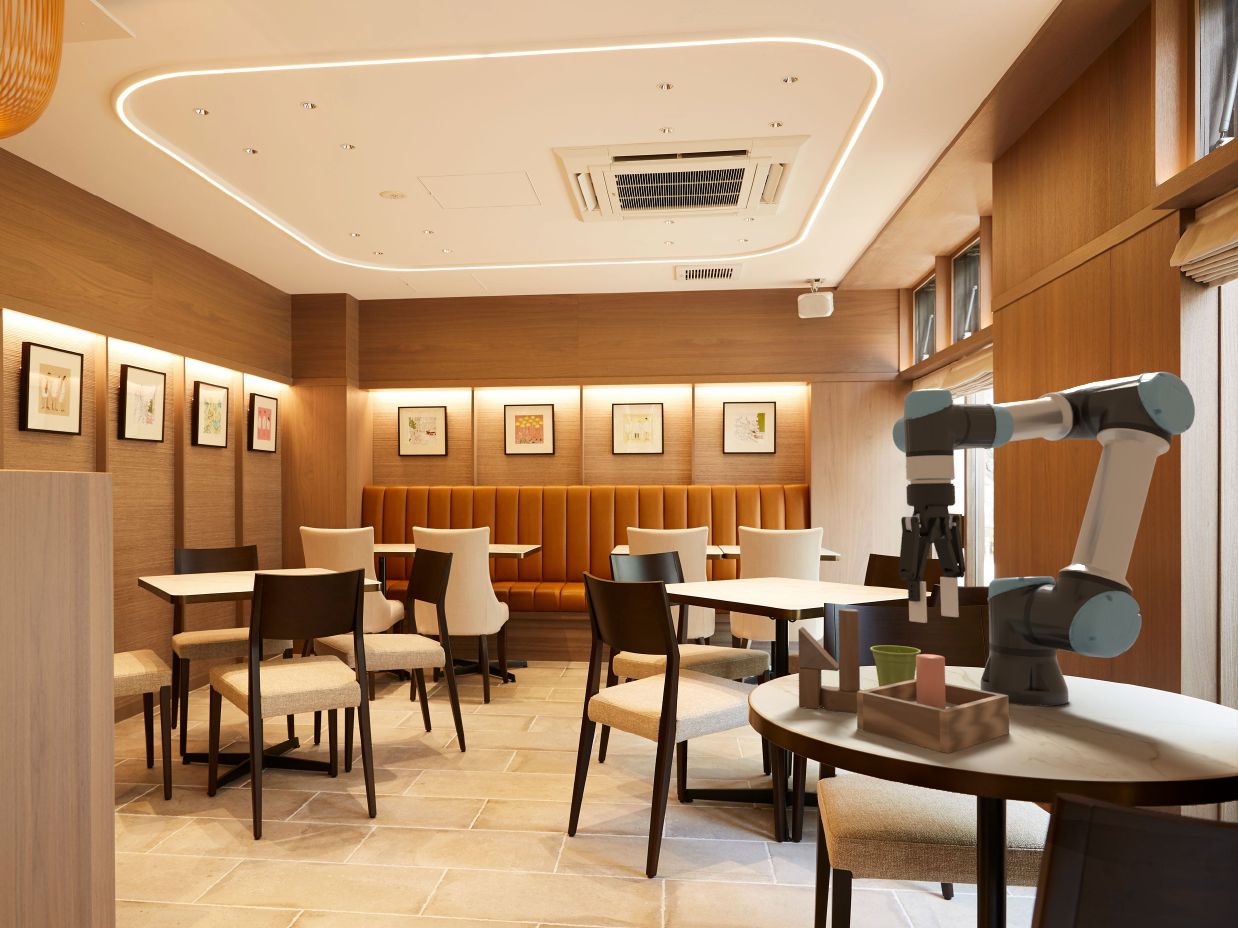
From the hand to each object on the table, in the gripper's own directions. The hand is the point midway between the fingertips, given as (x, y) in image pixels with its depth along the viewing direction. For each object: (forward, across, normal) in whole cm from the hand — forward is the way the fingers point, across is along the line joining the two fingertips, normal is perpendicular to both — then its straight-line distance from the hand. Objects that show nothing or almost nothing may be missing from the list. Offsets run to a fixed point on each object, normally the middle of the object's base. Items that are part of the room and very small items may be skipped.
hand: (934, 618), depth 130 cm
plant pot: (+19, -17, -19) cm, 31 cm away
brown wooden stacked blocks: (+18, +3, -19) cm, 27 cm away
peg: (+18, +2, 0) cm, 18 cm away
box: (+18, +1, 0) cm, 18 cm away
